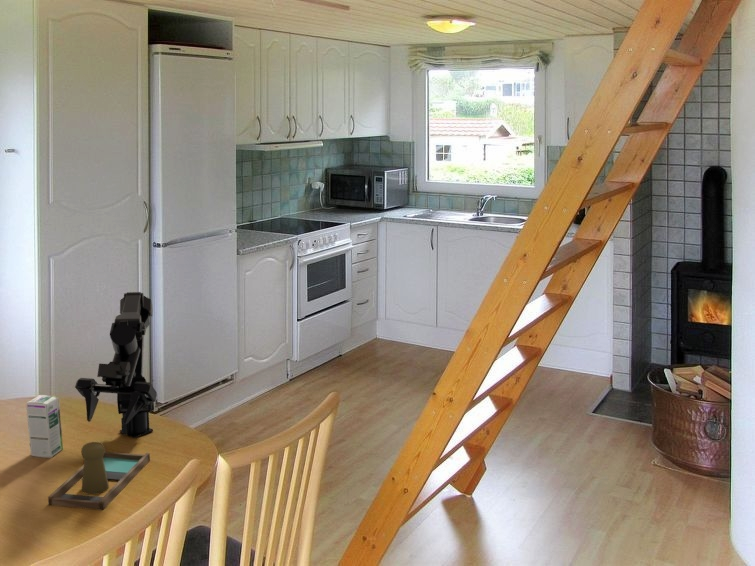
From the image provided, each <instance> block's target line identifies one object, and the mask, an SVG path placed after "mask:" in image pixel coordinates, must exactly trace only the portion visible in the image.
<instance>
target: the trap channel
mask: <svg viewBox="0 0 755 566" xmlns="http://www.w3.org/2000/svg"><path fill="white" fill-rule="evenodd" d="M104 457H105V458H117V459H130V460H139V461H138V462H137V463H136V464H135V465H134V466H133V467H132V468H131V469H130V470H129V471H128V472H127V473H116V472H106V475H107V480H108V481H114V482H117V483H115V484H114V485H113V486H112V488H111V489H109V491H108V492H107V493H106V494H104V495H103V496H96V495H95V496H94V495H83V494H72V493H67V492H68V491H70V489H72V488H73V487H74V486H75V485H76V484H77V483H79V481H80V480H81V479H83V468H84V464H83V465H82V466H81V467H79V468H78V469H77V470H76V471H75V472H74V473H72V475H71V476H70V477H68V478H67V479H66V480H65V481H64V482H63V483H62V484H61V485H59V487H57V488H56V489H55V490H54V491H53V492H52V493H51V494H50V495H48V496H47V501H48V506H55V507H66V508H78V509H89V510H99V511H100V510H101V511H104V510H105V508H106V507H107V506H108V505H110V503H111V502H112V501H113V500H114V499H115V498H116V497H117V496H118V495H119V494H120V493H121V492H122V491H123V489H124V488H126V487H127V485H128V484H130V482H132V480H133V479H134V478H135V477H136V476H137V475H138V474H139V473H140V472H141V471H142V470H143V469H144V468H145V466H146V465H147V464H148V463H149V462H150V461H151V457H150V453H148V452H146V453H145V454H141V453H139V454H138V453H129V452H128V453H125V452H114V451H105V453H104V456H103V458H104Z"/></svg>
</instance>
